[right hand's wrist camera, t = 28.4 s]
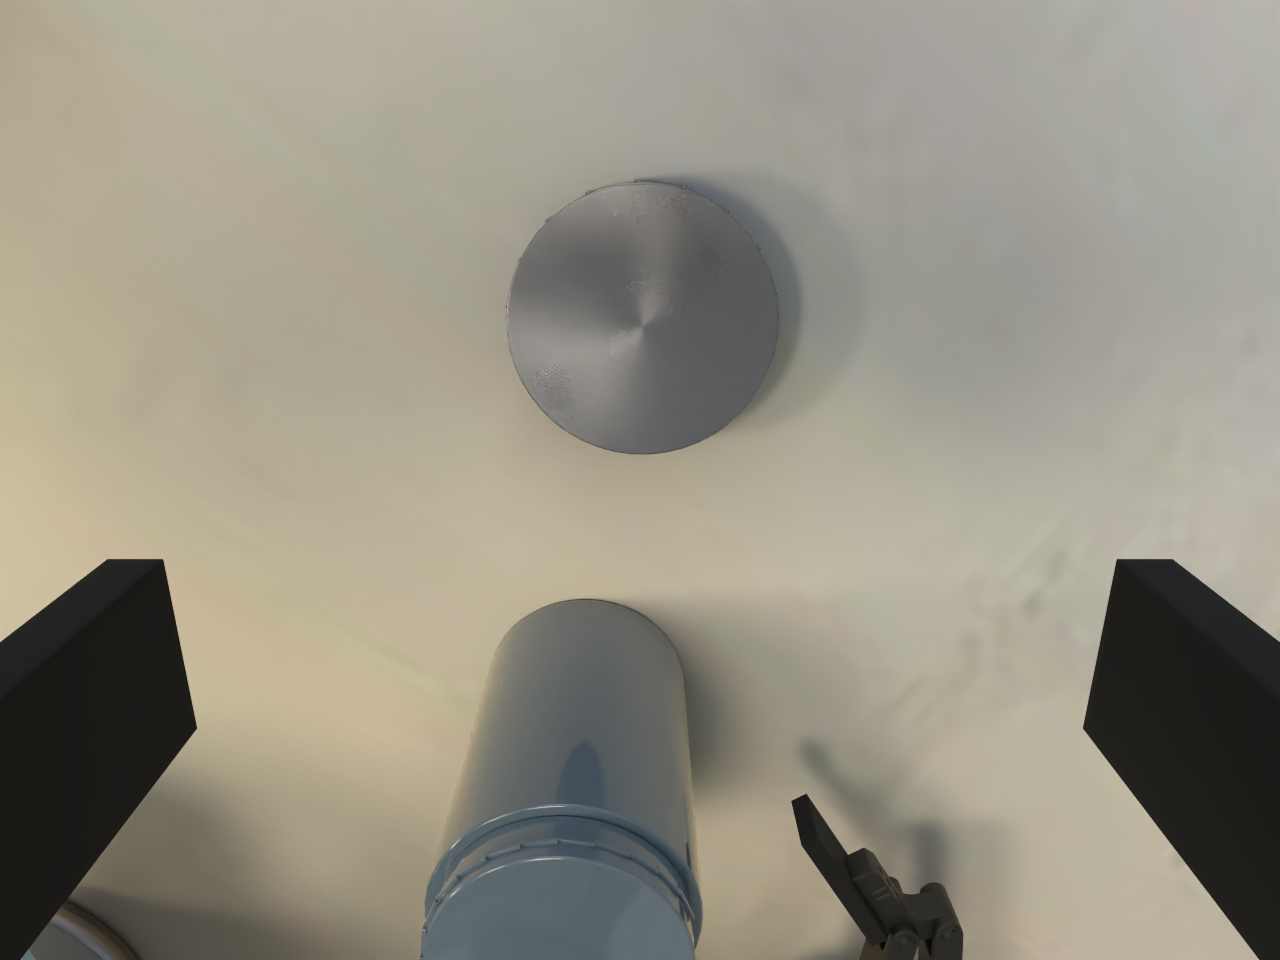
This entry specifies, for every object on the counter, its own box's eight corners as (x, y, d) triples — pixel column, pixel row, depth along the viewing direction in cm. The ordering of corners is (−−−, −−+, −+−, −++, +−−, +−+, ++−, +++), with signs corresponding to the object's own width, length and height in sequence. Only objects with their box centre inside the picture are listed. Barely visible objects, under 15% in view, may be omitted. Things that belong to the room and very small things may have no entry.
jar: (565, 561, 42) (523, 796, 27) (723, 670, 44) (767, 945, 29) (451, 700, 44) (354, 985, 29) (605, 796, 46) (589, 1110, 31)
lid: (695, 480, 40) (698, 497, 38) (470, 370, 39) (461, 382, 37) (820, 260, 37) (831, 266, 35) (580, 130, 35) (577, 128, 33)
